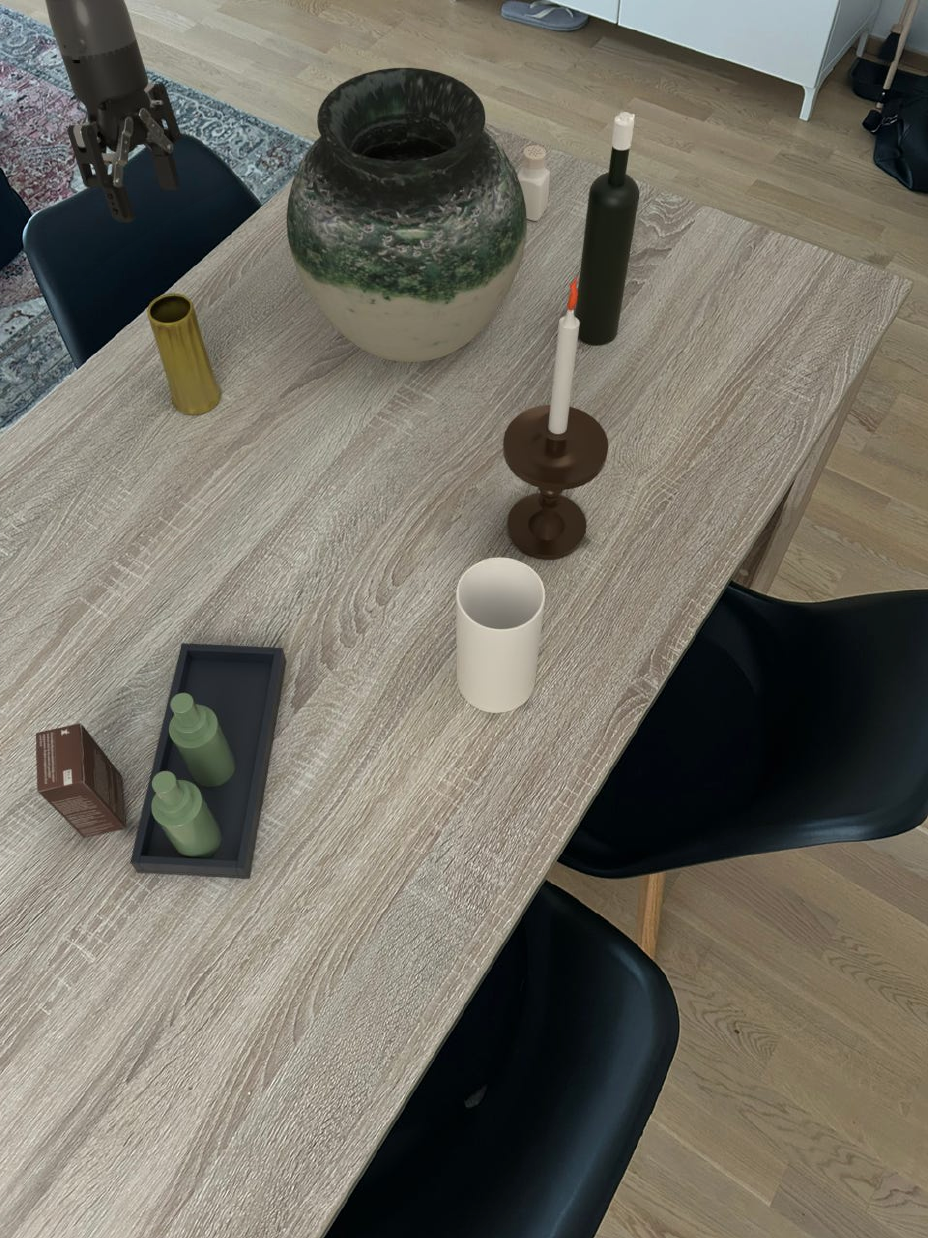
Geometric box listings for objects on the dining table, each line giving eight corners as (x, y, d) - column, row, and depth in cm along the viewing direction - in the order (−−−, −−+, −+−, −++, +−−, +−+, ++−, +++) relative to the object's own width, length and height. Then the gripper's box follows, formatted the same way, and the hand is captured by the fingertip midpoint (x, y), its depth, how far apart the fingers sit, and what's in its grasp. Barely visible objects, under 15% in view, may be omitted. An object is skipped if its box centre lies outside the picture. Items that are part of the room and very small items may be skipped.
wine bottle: (623, 341, 136) (659, 126, 110) (581, 349, 135) (608, 134, 110) (609, 311, 139) (641, 96, 113) (567, 319, 138) (591, 103, 113)
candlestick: (524, 478, 123) (543, 227, 94) (608, 512, 121) (655, 264, 91) (482, 544, 118) (489, 299, 89) (569, 580, 116) (606, 341, 86)
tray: (137, 873, 98) (129, 863, 95) (187, 656, 110) (181, 642, 108) (249, 879, 97) (244, 869, 95) (286, 661, 110) (282, 647, 108)
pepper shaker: (548, 207, 151) (553, 147, 143) (538, 223, 149) (542, 163, 141) (523, 200, 151) (526, 140, 143) (512, 216, 149) (515, 156, 141)
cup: (519, 636, 112) (527, 547, 98) (546, 700, 108) (558, 617, 94) (446, 656, 110) (444, 569, 97) (470, 722, 106) (472, 641, 93)
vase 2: (519, 258, 145) (531, 41, 119) (521, 409, 129) (535, 197, 104) (315, 255, 145) (284, 39, 119) (293, 405, 130) (252, 194, 104)
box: (76, 784, 102) (33, 730, 92) (123, 775, 103) (85, 720, 93) (79, 842, 99) (35, 792, 89) (126, 831, 100) (88, 781, 90)
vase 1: (219, 376, 132) (194, 286, 120) (223, 411, 129) (199, 322, 117) (170, 384, 132) (141, 294, 120) (174, 419, 128) (144, 330, 116)
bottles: (170, 860, 98) (131, 805, 86) (195, 745, 104) (162, 679, 92) (217, 863, 97) (184, 807, 86) (239, 747, 104) (211, 681, 92)
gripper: (110, 20, 109) (157, 177, 120) (20, 63, 100) (81, 229, 111) (168, 19, 106) (212, 180, 117) (82, 64, 97) (138, 234, 108)
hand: (148, 204), depth 114 cm, fingers open, 8 cm apart
